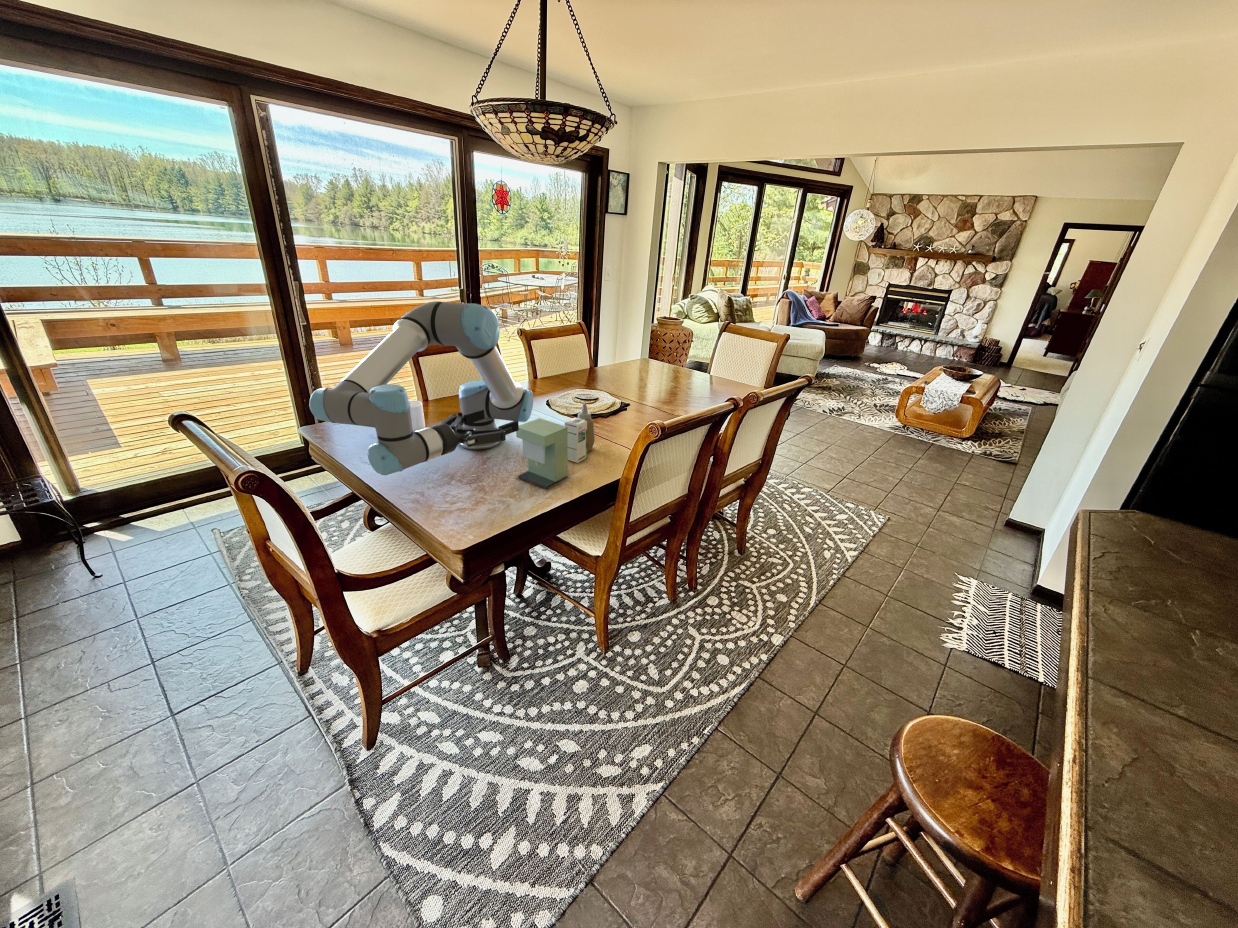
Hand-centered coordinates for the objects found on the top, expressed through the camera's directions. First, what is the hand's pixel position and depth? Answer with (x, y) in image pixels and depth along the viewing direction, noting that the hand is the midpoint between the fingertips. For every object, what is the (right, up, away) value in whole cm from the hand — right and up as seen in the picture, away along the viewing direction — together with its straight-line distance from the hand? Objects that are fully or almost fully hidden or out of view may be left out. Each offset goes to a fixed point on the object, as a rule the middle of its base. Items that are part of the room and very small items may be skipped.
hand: (500, 419), depth 134 cm
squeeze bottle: (+20, -7, +46) cm, 50 cm away
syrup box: (+18, -11, +38) cm, 44 cm away
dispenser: (+8, -17, +23) cm, 30 cm away
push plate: (+7, -11, +17) cm, 21 cm away
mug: (-50, +2, +57) cm, 76 cm away
